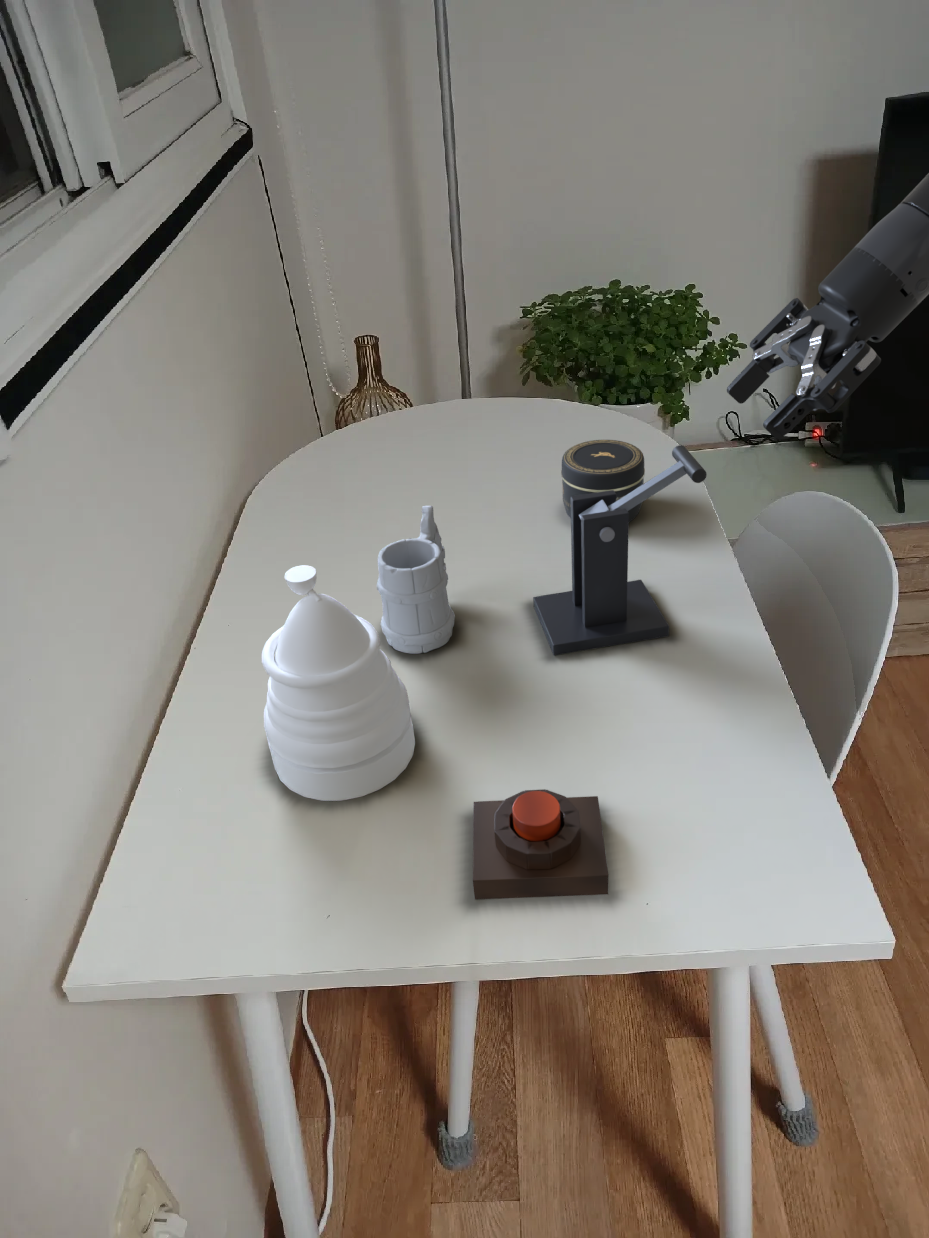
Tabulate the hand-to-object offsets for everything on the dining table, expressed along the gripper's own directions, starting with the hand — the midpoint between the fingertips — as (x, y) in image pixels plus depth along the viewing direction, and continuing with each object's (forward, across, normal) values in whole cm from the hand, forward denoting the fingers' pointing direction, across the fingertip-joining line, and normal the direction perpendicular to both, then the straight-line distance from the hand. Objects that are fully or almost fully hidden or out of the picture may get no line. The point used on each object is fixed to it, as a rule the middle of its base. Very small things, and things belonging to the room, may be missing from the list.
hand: (750, 414), depth 89 cm
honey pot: (+45, +13, -15) cm, 49 cm away
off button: (+32, +29, -7) cm, 44 cm away
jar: (+20, -22, +9) cm, 32 cm away
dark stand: (+25, 0, +4) cm, 25 cm away
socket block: (+34, +29, -5) cm, 45 cm away
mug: (+38, -5, -8) cm, 39 cm away
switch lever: (+12, 0, -2) cm, 13 cm away
